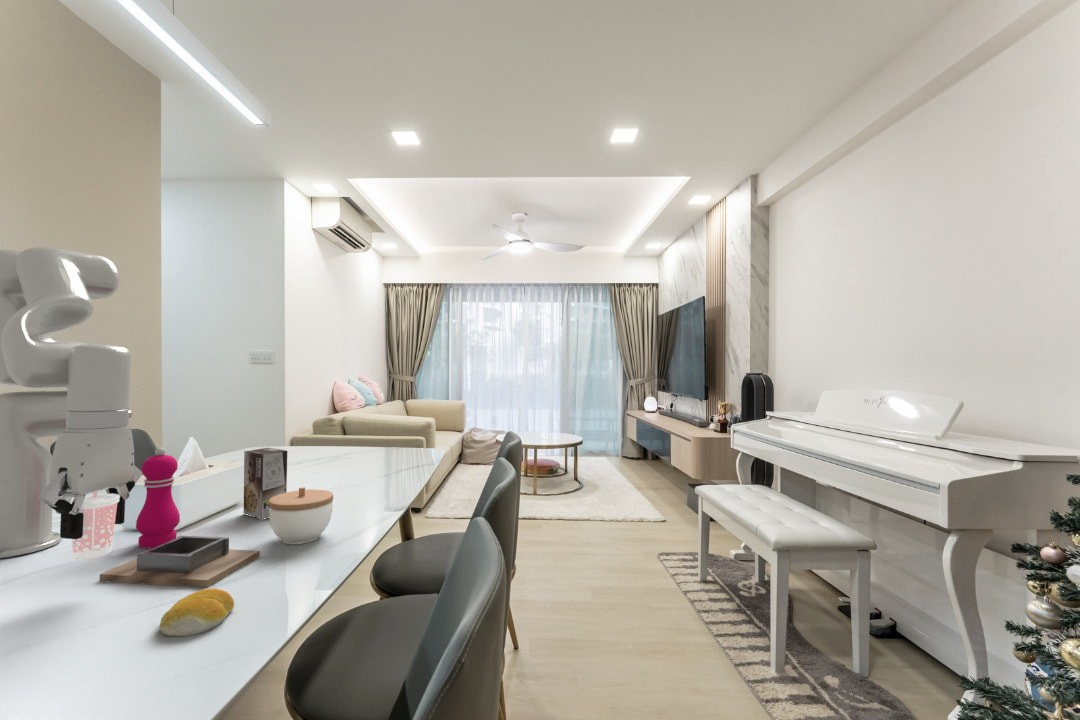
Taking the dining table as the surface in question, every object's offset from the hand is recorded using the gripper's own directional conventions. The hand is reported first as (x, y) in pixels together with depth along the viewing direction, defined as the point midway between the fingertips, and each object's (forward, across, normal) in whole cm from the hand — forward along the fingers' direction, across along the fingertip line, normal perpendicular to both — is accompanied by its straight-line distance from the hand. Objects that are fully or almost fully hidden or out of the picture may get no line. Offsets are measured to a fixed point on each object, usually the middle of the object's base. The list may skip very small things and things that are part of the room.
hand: (93, 529), depth 78 cm
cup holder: (+10, -10, +7) cm, 16 cm away
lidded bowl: (+10, -28, +19) cm, 35 cm away
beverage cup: (+4, 0, 0) cm, 4 cm away
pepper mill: (+11, -22, -9) cm, 26 cm away
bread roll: (+10, +6, +24) cm, 27 cm away
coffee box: (+11, -42, 0) cm, 44 cm away
